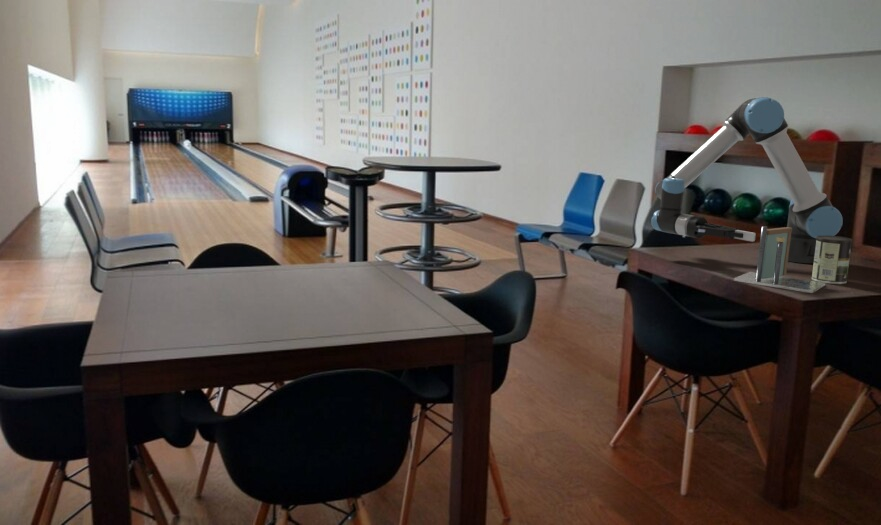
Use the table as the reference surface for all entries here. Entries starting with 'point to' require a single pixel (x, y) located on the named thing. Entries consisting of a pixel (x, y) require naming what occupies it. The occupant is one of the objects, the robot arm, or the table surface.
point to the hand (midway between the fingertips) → (753, 237)
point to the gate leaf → (772, 249)
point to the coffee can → (831, 259)
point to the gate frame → (777, 271)
